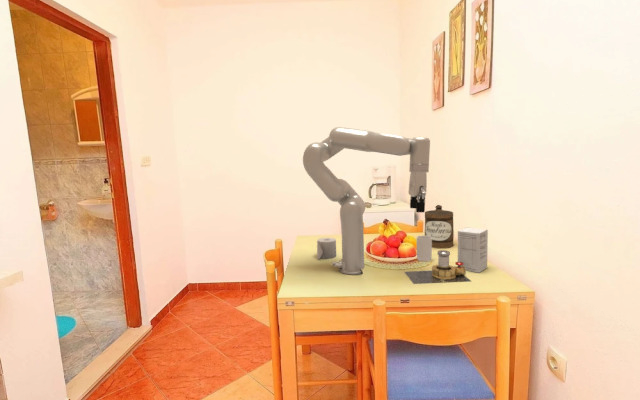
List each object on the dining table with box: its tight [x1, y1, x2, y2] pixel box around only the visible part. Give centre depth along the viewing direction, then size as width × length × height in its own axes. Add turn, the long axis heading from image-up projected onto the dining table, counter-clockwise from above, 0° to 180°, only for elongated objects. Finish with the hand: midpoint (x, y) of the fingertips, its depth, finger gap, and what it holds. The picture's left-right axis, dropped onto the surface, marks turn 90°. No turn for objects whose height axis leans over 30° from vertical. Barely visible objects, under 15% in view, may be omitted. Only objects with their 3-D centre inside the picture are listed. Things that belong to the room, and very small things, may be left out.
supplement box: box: [457, 227, 489, 274], centre depth 150 cm, size 10×9×17 cm
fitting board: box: [404, 261, 472, 285], centre depth 138 cm, size 22×14×7 cm, turn 91°
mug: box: [416, 235, 433, 262], centre depth 162 cm, size 10×7×12 cm, turn 161°
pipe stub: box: [437, 249, 451, 270], centre depth 138 cm, size 5×5×9 cm
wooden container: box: [424, 204, 455, 249], centre depth 189 cm, size 15×15×22 cm
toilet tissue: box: [316, 237, 337, 261], centre depth 174 cm, size 9×13×9 cm
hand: (416, 210), depth 144 cm, fingers open, 9 cm apart
